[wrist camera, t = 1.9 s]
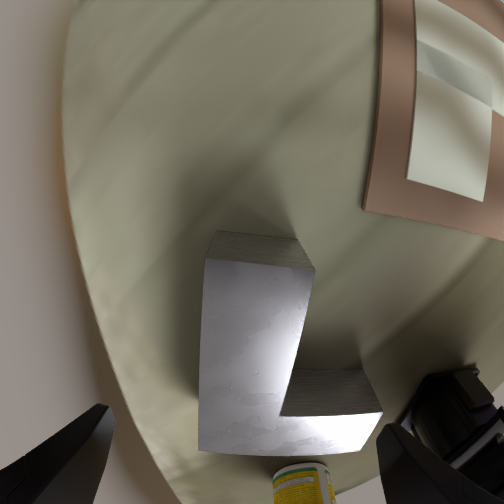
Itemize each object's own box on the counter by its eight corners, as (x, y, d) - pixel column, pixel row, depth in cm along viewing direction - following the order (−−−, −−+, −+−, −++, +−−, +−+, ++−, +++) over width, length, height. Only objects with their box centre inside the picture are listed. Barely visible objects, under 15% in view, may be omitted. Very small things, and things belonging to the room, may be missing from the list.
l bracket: (345, 409, 18) (359, 450, 15) (204, 404, 18) (198, 450, 14) (401, 253, 15) (440, 282, 11) (216, 230, 14) (205, 257, 10)
